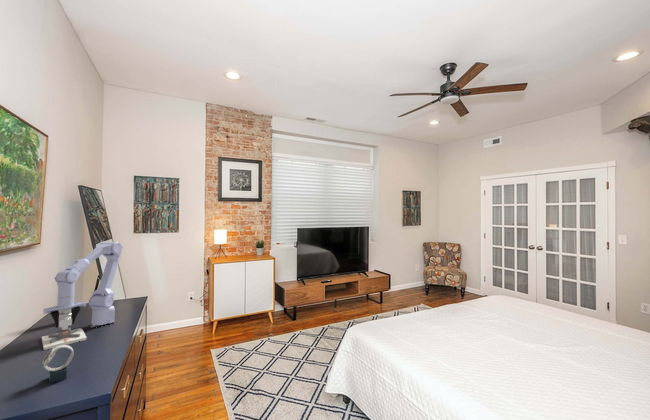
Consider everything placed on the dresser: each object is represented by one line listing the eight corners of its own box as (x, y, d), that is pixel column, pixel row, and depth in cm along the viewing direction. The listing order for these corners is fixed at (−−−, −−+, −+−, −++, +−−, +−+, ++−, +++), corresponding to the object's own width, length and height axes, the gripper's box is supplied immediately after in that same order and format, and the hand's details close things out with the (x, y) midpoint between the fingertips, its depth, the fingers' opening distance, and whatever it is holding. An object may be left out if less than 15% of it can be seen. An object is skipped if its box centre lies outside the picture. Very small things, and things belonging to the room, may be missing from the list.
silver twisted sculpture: (77, 320, 153) (78, 284, 153) (62, 325, 146) (63, 286, 147) (69, 319, 155) (71, 283, 156) (54, 323, 148) (56, 285, 149)
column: (70, 329, 132) (70, 316, 132) (71, 332, 129) (72, 318, 129) (57, 332, 129) (58, 318, 129) (58, 334, 126) (59, 321, 126)
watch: (41, 379, 97) (43, 347, 97) (72, 370, 102) (73, 340, 103) (40, 386, 93) (42, 353, 93) (73, 377, 98) (74, 345, 99)
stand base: (81, 330, 139) (81, 321, 140) (86, 339, 129) (87, 330, 129) (41, 339, 129) (42, 329, 129) (43, 350, 118) (44, 339, 118)
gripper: (83, 291, 138) (82, 319, 137) (42, 297, 126) (41, 328, 126) (87, 293, 134) (86, 322, 133) (45, 300, 122) (44, 331, 121)
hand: (64, 325), depth 129 cm, fingers closed on column, 5 cm apart
